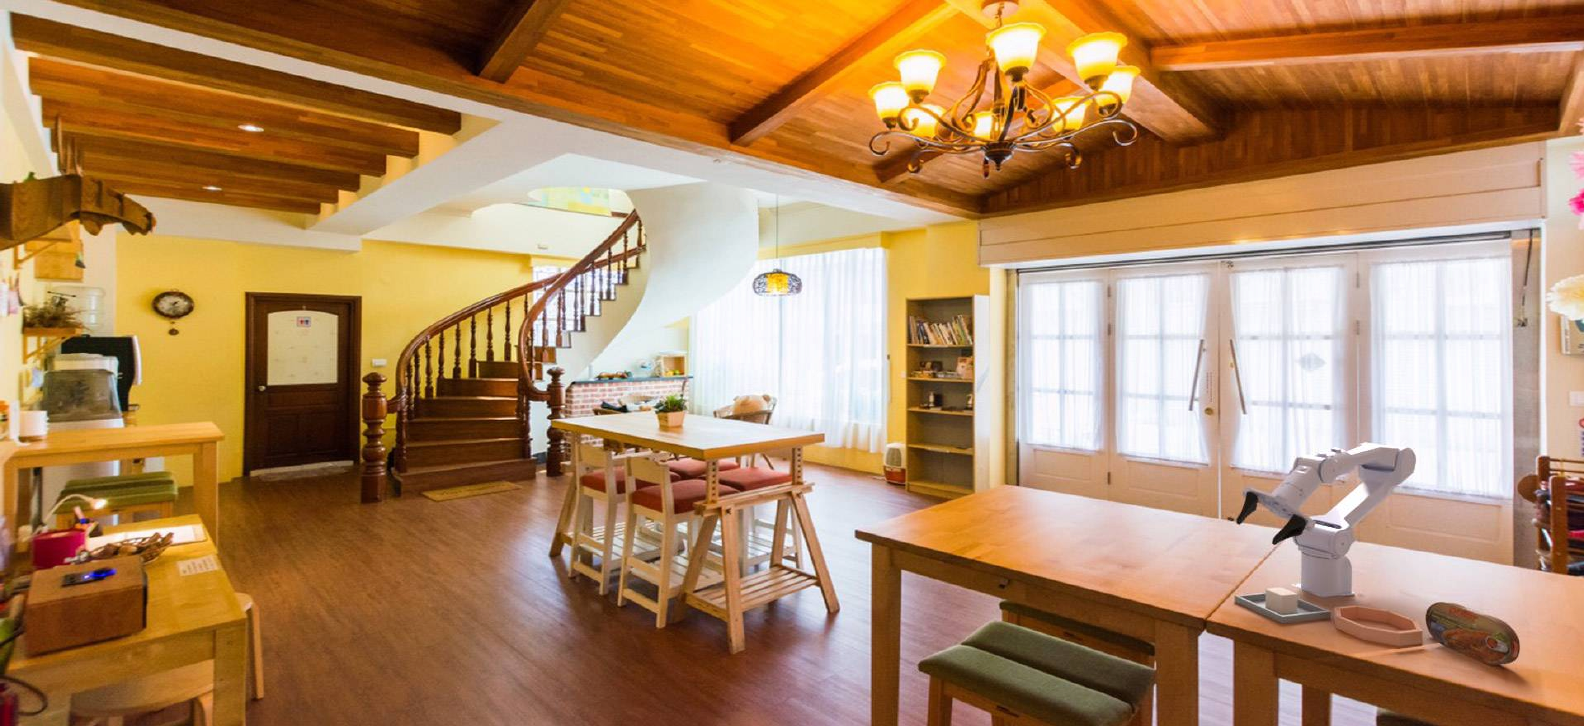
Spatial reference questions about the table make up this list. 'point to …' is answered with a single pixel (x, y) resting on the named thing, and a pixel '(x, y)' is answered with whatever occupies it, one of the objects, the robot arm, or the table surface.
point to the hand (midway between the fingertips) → (1255, 531)
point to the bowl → (1378, 625)
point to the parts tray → (1303, 613)
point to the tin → (1473, 633)
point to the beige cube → (1281, 600)
